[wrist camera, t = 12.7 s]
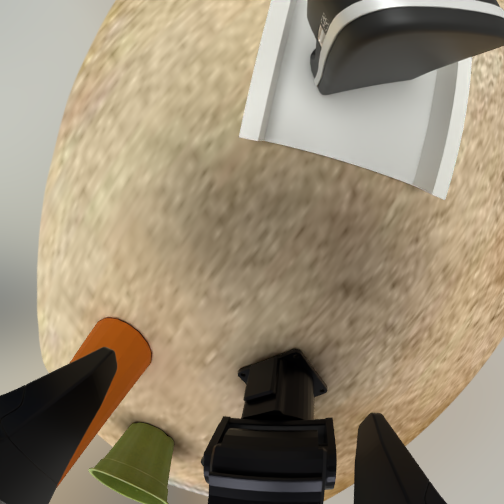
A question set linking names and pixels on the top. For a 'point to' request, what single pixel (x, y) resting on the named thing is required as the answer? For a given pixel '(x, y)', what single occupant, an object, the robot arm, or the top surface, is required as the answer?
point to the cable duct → (355, 109)
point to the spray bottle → (128, 371)
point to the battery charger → (396, 38)
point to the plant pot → (138, 464)
